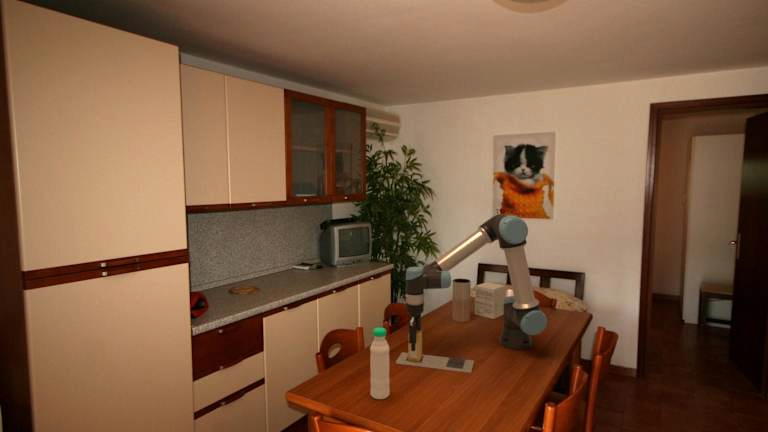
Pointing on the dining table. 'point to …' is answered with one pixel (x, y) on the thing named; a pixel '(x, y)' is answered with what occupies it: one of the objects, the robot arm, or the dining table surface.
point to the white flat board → (438, 363)
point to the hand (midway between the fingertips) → (415, 354)
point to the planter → (461, 300)
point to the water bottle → (379, 365)
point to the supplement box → (489, 300)
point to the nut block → (419, 347)
